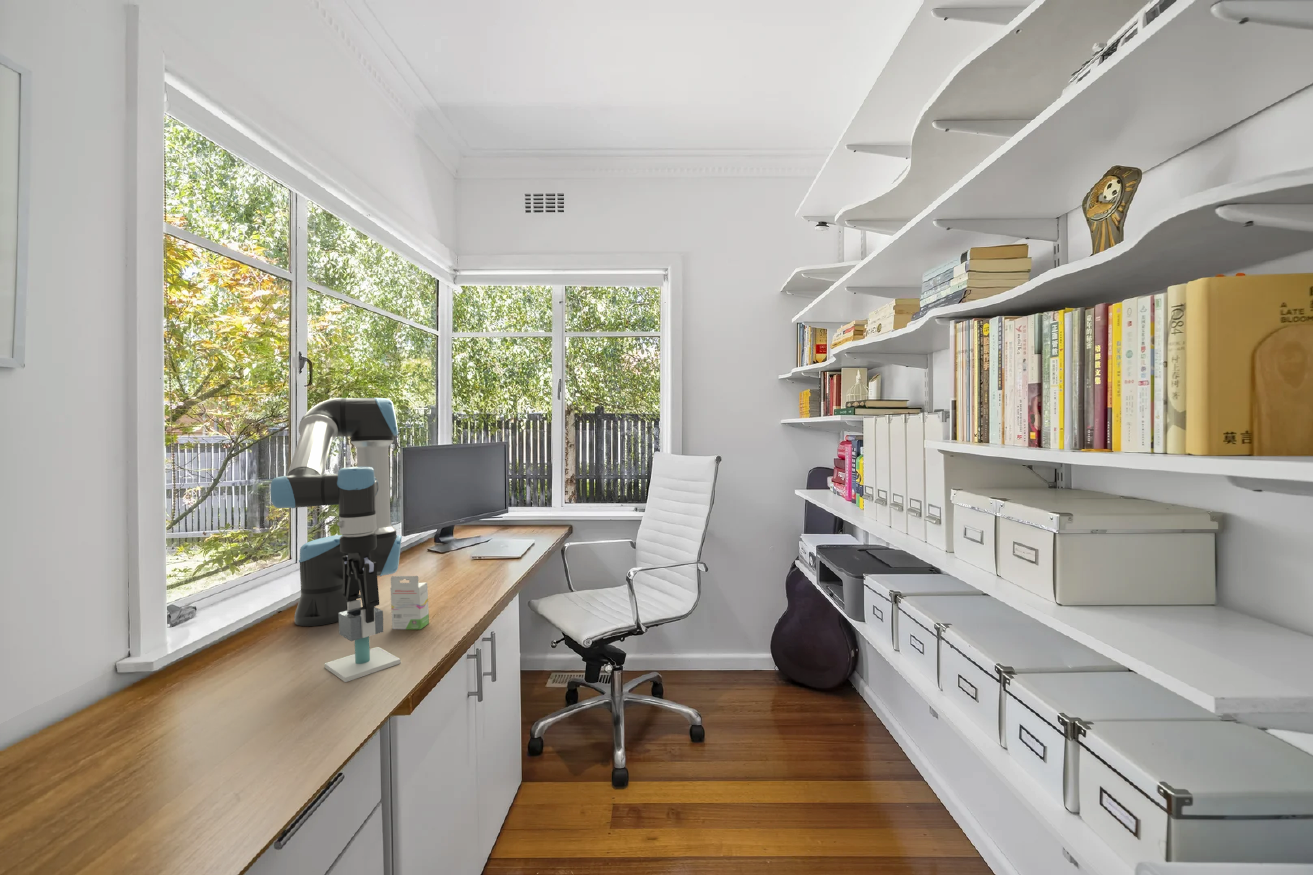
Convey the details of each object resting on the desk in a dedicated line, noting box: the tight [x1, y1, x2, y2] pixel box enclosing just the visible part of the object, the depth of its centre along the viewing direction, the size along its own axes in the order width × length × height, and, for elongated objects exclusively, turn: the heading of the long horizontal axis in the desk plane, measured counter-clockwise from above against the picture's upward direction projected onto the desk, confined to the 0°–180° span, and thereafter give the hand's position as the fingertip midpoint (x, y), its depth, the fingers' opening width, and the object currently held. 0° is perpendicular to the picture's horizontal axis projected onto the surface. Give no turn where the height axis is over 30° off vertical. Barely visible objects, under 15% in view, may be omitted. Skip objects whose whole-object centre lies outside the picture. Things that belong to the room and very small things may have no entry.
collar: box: [338, 606, 384, 642], centre depth 127 cm, size 7×7×5 cm
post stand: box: [324, 636, 401, 683], centre depth 128 cm, size 12×12×8 cm
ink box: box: [390, 575, 430, 630], centre depth 152 cm, size 9×5×15 cm, turn 84°
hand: (361, 631), depth 127 cm, fingers closed on collar, 7 cm apart
